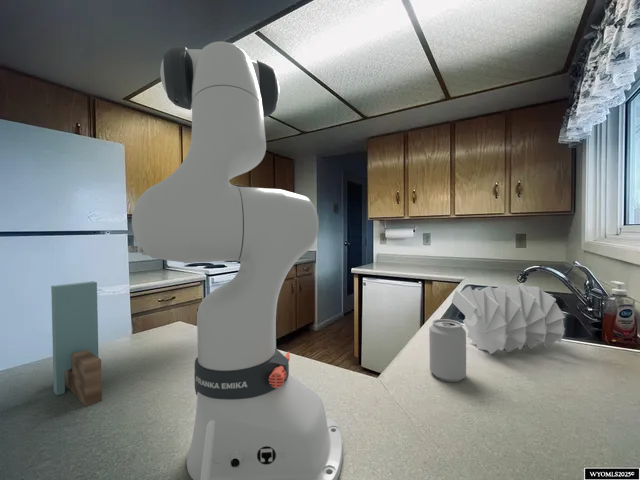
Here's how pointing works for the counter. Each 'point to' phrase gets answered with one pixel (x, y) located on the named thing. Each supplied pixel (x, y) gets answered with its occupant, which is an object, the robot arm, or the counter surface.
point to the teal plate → (72, 326)
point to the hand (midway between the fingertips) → (136, 249)
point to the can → (447, 350)
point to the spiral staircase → (510, 317)
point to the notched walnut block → (85, 377)
